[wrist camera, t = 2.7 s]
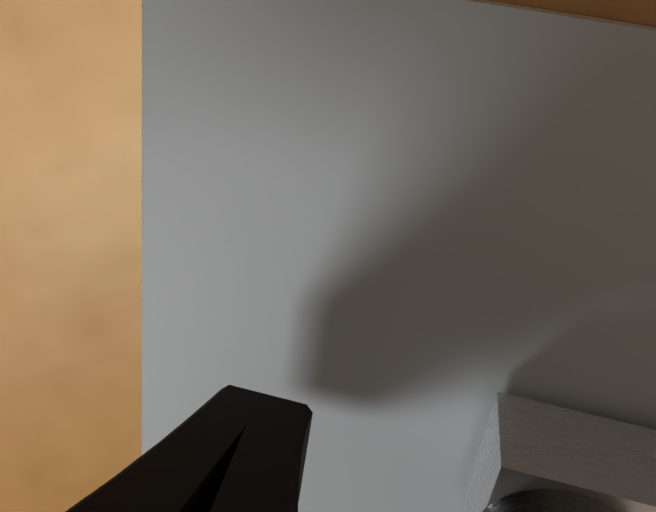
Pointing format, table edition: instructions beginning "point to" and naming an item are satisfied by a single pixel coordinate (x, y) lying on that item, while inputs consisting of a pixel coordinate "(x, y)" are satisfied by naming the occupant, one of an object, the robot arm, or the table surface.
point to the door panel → (396, 226)
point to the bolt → (560, 462)
